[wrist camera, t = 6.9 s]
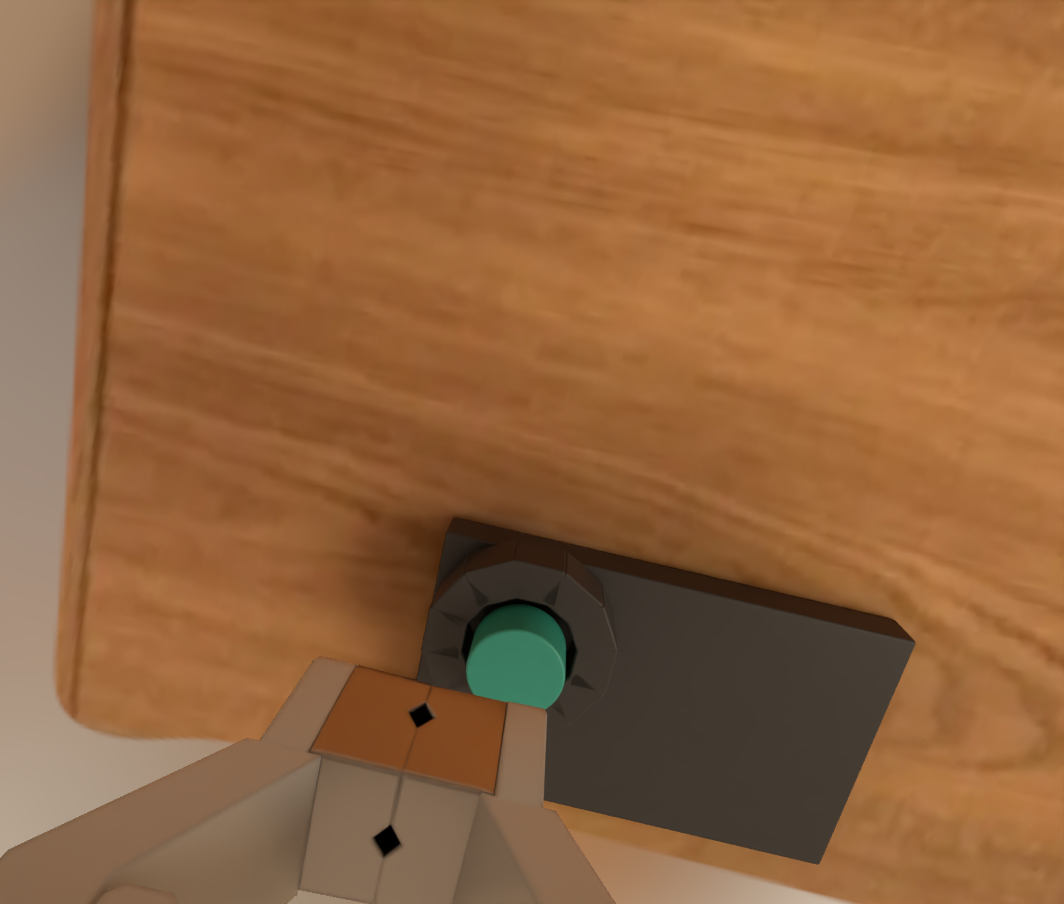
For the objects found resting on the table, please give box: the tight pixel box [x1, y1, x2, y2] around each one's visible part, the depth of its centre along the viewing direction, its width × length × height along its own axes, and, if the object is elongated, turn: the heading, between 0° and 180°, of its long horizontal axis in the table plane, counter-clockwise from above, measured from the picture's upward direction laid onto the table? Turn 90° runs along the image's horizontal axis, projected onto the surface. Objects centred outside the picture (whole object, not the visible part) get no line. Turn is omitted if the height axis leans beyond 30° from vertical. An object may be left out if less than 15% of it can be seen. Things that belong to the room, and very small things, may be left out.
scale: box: [416, 518, 915, 865], centre depth 21 cm, size 15×9×3 cm, turn 77°
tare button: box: [466, 604, 566, 709], centre depth 19 cm, size 3×3×2 cm
